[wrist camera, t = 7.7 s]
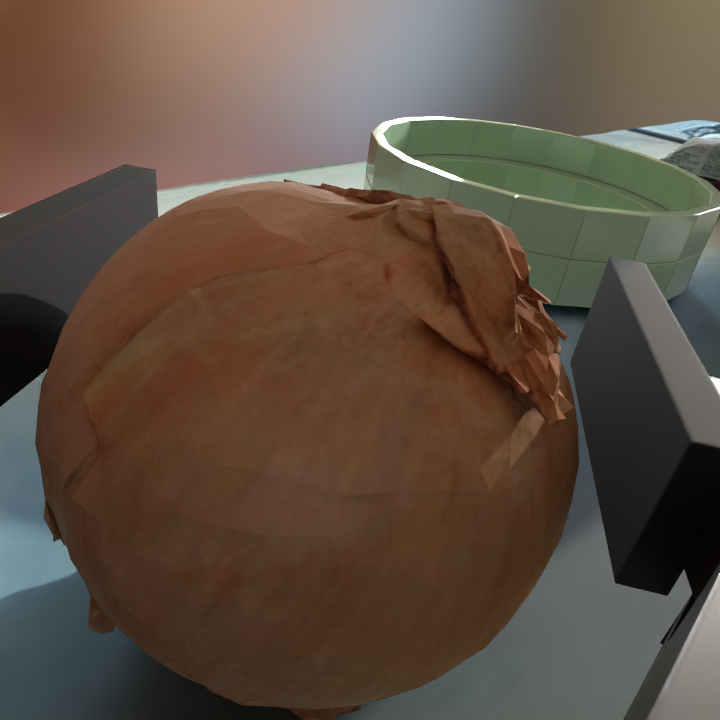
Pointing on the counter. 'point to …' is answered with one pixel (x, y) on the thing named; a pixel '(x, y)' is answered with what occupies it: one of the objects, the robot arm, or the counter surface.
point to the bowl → (555, 198)
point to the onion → (309, 441)
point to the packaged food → (699, 159)
